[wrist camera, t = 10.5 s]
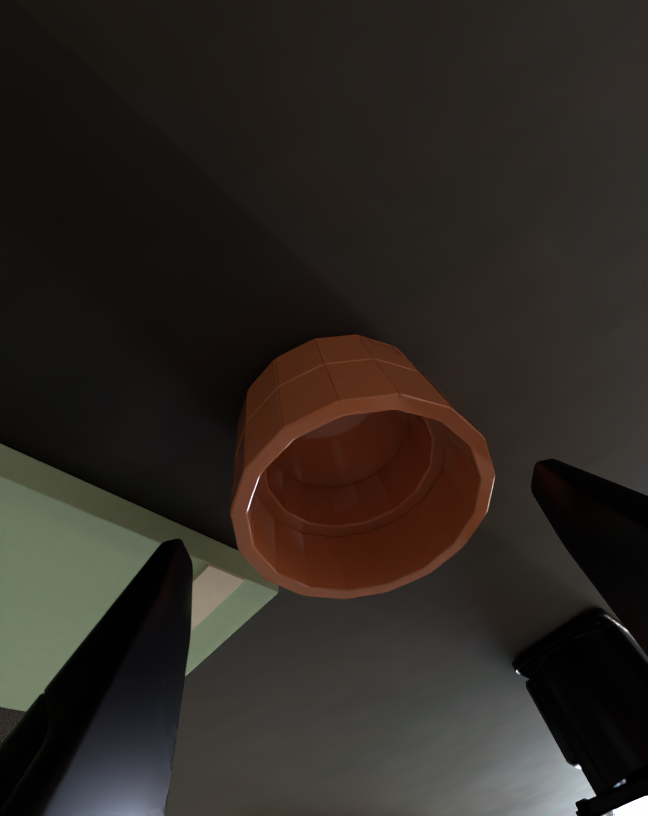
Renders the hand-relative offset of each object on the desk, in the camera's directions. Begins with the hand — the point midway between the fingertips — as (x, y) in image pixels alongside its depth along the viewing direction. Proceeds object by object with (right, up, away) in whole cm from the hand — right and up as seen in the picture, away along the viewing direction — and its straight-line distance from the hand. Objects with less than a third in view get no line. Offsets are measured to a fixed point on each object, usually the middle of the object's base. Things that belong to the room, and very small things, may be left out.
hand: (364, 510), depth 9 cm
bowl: (-1, +2, +4) cm, 5 cm away
